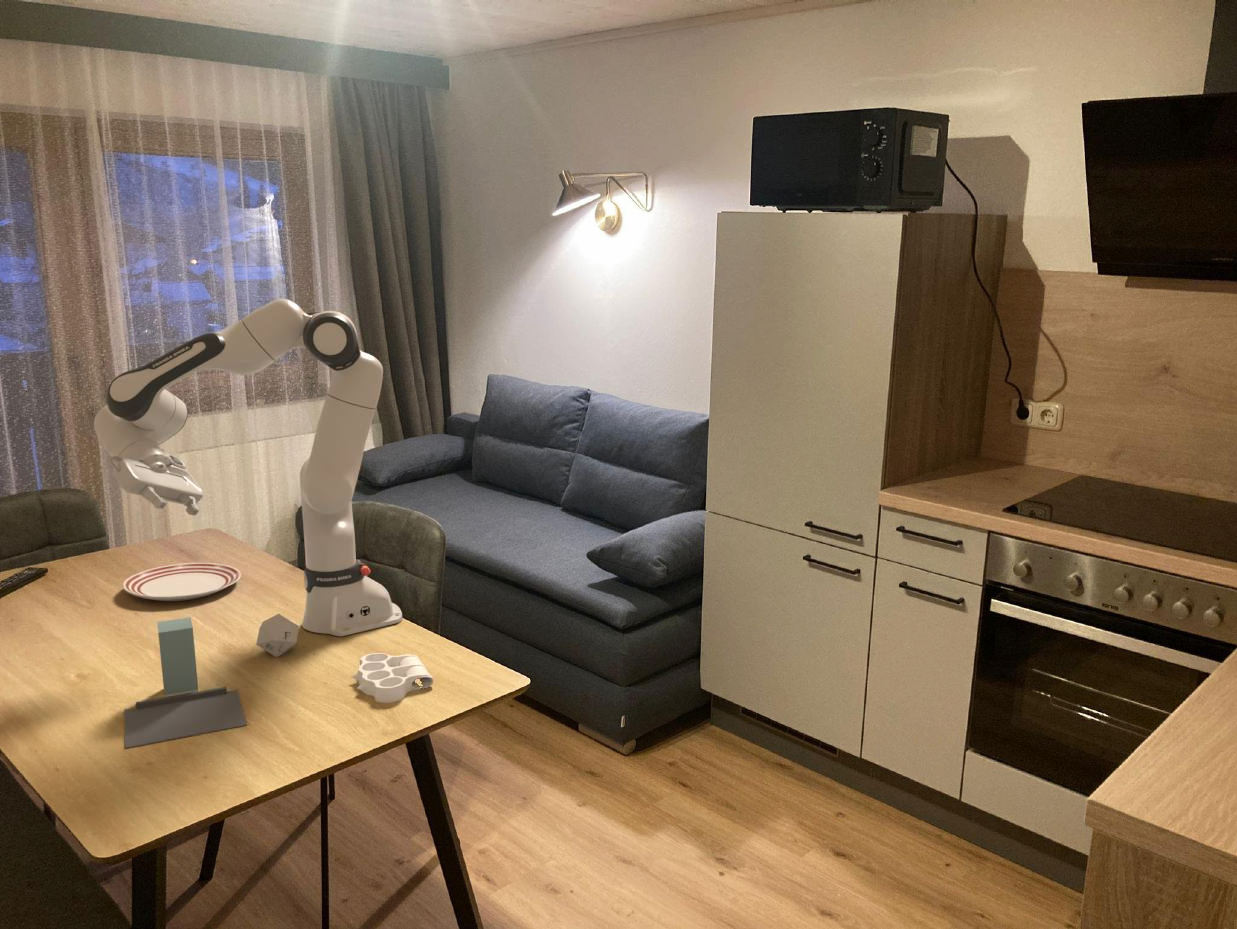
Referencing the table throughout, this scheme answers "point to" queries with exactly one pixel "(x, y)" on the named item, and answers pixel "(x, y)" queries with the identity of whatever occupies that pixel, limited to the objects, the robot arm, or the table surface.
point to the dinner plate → (181, 581)
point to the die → (277, 635)
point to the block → (177, 656)
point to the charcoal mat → (183, 716)
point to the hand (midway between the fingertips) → (178, 509)
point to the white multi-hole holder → (391, 676)
